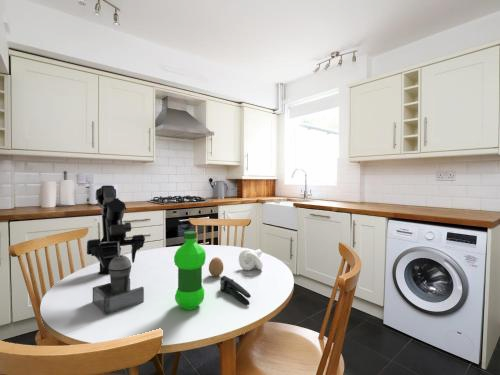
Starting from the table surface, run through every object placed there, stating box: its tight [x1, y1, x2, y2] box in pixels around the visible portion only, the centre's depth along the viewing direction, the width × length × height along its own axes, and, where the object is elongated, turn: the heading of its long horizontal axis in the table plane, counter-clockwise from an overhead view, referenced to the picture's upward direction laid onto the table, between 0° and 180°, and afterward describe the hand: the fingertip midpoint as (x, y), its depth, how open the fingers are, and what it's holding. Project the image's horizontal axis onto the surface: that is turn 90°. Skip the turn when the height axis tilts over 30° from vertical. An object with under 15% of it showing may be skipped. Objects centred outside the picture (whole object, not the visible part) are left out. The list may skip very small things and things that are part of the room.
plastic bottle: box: [173, 230, 207, 311], centre depth 87 cm, size 10×10×25 cm
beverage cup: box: [108, 243, 132, 295], centre depth 90 cm, size 7×7×20 cm
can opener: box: [219, 275, 252, 305], centre depth 96 cm, size 18×7×6 cm, turn 35°
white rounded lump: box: [238, 248, 264, 271], centre depth 126 cm, size 11×12×9 cm
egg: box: [208, 257, 224, 277], centre depth 115 cm, size 6×6×8 cm
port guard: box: [92, 277, 145, 316], centre depth 90 cm, size 12×12×5 cm
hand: (119, 264), depth 91 cm, fingers open, 9 cm apart
